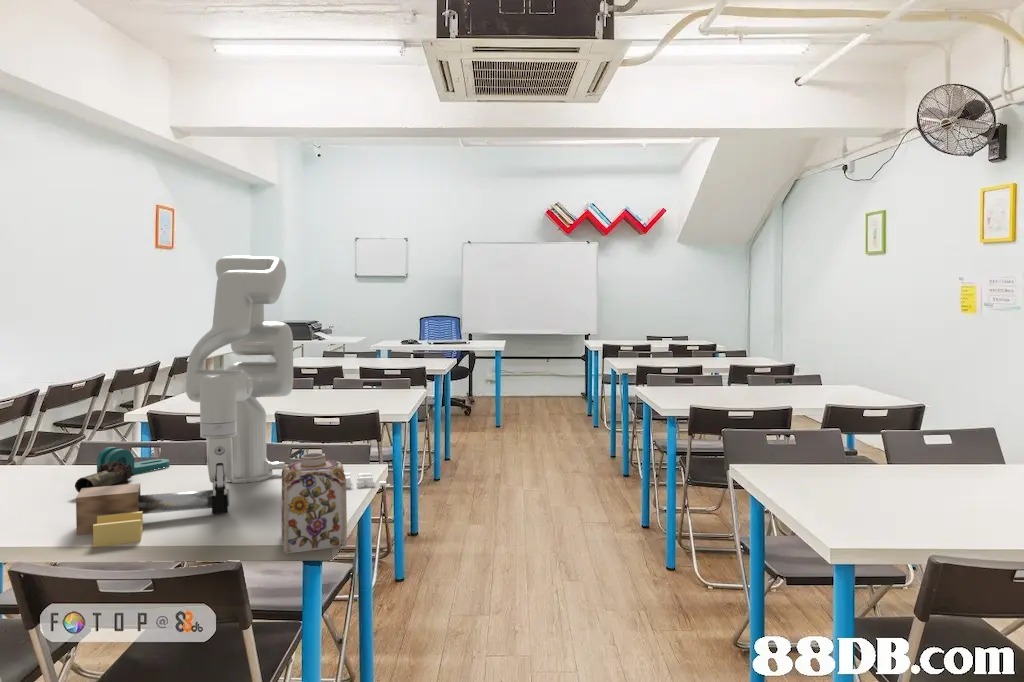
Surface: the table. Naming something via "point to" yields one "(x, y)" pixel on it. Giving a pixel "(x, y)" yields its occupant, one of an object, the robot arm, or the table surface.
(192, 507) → the steel axle
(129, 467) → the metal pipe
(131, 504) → the walnut block
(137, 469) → the bracket
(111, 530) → the ochre V-block
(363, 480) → the modular blocks
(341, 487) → the decorative jar
